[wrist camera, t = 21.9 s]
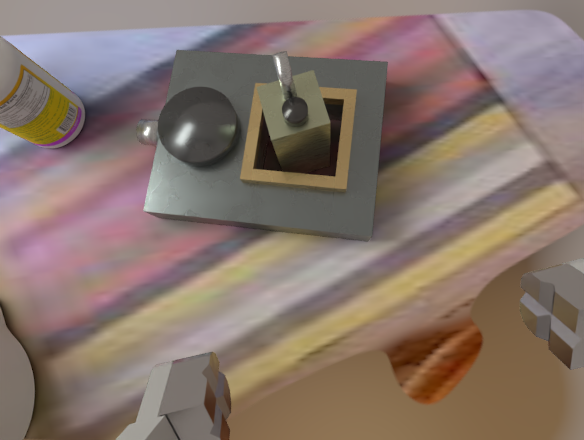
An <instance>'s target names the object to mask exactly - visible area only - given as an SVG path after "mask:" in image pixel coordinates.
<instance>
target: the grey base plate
mask: <svg viewBox="0 0 584 440" xmlns="http://www.w3.org/2000/svg"><path fill="white" fill-rule="evenodd" d="M288 59H289V63H290V67H291V72H292V76H295V75H298V74H302V73H305V72H308V71H312V70H314V73H315V76H316V79H317V82H318V85H319V88H320V91H321V95H322V98H323V101H324V104H325V107H326V110H327V113H328V116H329V120H342V123H341V132H340V141H339V150H338V159H337V167H336V176H335V177H334V176H324V175H313V174H303V173H292V172H281V171H271V170H263V169H264V162H265V155H266V149H267V142H268V135H269V131H268V127H267V124H266V120H265V116H264V113H263V109H262V106H261V102H260V98H259V95H258V91H257V87H258V86H261V85H265V84H268V83H271V82H275V81H278V80H279V78H278V75H277V71H276V67H275V63H274V60H273V56H272V55H256V54H238V53H220V52H202V51H184V50H177V51H176V56H175V61H174V66H173V71H172V75H171V80H170V85H169V90H168V95H167V99H166V104H165V106H164V108H163V109H162V111H161V114H160V117H159V120H147V119H141V120H140V121H139V122H138V125H137V138H138V140H139V142H140V143H141V144H144V145H155V146H157V147H156V152H155V157H154V162H153V167H152V172H151V176H150V181H149V186H148V191H147V196H146V200H145V205H144V210H143V211H144V212H147V213H149V214H151V215H153V216H156V217H158V218H165V219H173V220H182V221H191V222H200V223H209V224H217V225H226V226H235V227H244V228H253V229H261V230H270V231H279V232H288V233H297V234H306V235H314V236H323V237H332V238H341V239H350V240H358V241H367V242H368V241H369V240H370V239H371V237H372V231H373V220H374V209H375V198H376V187H377V176H378V165H379V154H380V143H381V132H382V120H383V109H384V98H385V87H386V76H387V65H388V62H380V61H362V60H344V59H327V58H309V57H291V56H288Z"/></svg>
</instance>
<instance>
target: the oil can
mask: <svg viewBox="0 0 584 440" xmlns="http://www.w3.org/2000/svg"><path fill="white" fill-rule="evenodd" d="M272 56H273V60H274V63H275V67H276V71H277V75H278V78H279V80H278V81H275V82H271V83H268V84H265V85H261V86H258V87H257V91H258V95H259V98H260V102H261V106H262V109H263V113H264V116H265V120H266V124H267V127H268V131H269V134H270V138H271V141H272V144H273V147H274V150H275V152H276V155H277V158H278V160H279V163H280V166H281V169H282V171H283V172H292V173H307V172H310V171H314V170H317V169H320V168H324V167H327V166H330V120H329V116H328V113H327V110H326V107H325V104H324V101H323V98H322V95H321V91H320V88H319V85H318V82H317V79H316V76H315V73H314V70H312V71H308V72H305V73H302V74H298V75H295V76H292V72H291V67H290V63H289V59H288V55H287V51H283V52H279V53H276V54H274V55H272Z"/></svg>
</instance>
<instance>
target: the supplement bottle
mask: <svg viewBox="0 0 584 440" xmlns="http://www.w3.org/2000/svg"><path fill="white" fill-rule="evenodd" d="M84 121H85V109H84V106H83V103H82V101H81V100H80V98H79V97H78V96H77V95H76V94H75V93H73V92H72V91H71V90H70V89H68V88H67V87H66V86H65V85H63V84H62V83H61V82H59V81H58V80H57V79H55V78H54V77H53V76H52V75H50V74H49V73H48V72H46V71H45V70H44V69H43V68H41V67H40V66H39V65H37V64H36V63H35V62H34V61H32V60H31V59H30V58H28V57H27V56H26V55H24V54H23V53H22V52H21V51H19V50H18V49H17V48H16V47H14V46H13V45H12V44H11V43H9V42H8V41H7V40H5V39H4V38H2V37H1V36H0V127H1V128H3V129H5V130H7V131H9V132H11V133H13V134H15V135H17V136H19V137H21V138H23V139H25V140H27V141H29V142H31V143H33V144H35V145H37V146H40V147H44V148H58V147H62V146H64V145H66V144H68V143H69V142H71V141H72V140H73V139H75V138H76V136H77V135H78V134H79V133H80V131H81V129H82V127H83V125H84Z"/></svg>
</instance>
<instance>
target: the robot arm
mask: <svg viewBox="0 0 584 440" xmlns="http://www.w3.org/2000/svg"><path fill="white" fill-rule="evenodd" d="M521 288H522V289H523V290H524V291H525V292H526V293H525V294H524V296H523V297H522V298H521V300H520V314H521V316H522V319H523V322H524V323H525V325H526V326H527V328H528V329H529V330H530V331H531V332H532V333H533V334H534V335H535V336H536V337H539V338H541V339H544V340H546V341H548V344H549V350H550V351H551V352H552V353H553V354H554V355H555V356H556V357H557V358H558V359H560V360H561V361H562V362H563V363H564V364H565V365H566V366H567V367H568V368H569V369H570V370H572V369H576V368H581V367H584V258H581V259H577V260H573V261H570V262H566V263H563V264H560V265H556V266H552V267H548V268H544V269H540V270H536V271H533V272H529V273H525V274H524V275H523V277H522V278H521ZM219 363H220V362H219V360H218V358H217V356H216V354H215V353H214V352H209V353H205V354H200V355H196V356H192V357H187V358H183V359H178V360H175V361H171V362H167V363H162V364H158V365H156V366H155V367H154V368H153V369H152V371H151V374H150V377H149V381H148V384H147V387H146V390H145V393H144V397H143V400H142V403H141V406H140V409H139V413H138V416H137V419H136V422H135V423H132V424H129V425H128V426H127V427H126V429H125V430H124V431H123V432H122V433H121V434H120V435H119V436H118V437H117V439H116V440H229V436H230V429H229V427H228V424H227V422H226V419H227V418H228V416H229V415H230V413H231V398H230V390H229V386H228V382H227V379H226V377H225V375H224V374H222V373H221V372H219ZM34 399H35V385H34V377H33V371H32V368H31V364H30V361H29V359H28V357H27V354H26V352H25V351H24V349H23V347H22V346H21V344H20V343H19V342H18V341H17V339H16V338H15V337H14V336H13V335H12V334H11V332H10V331H9V330H8V328H7V326H6V324H5V320H4V317H3V313H2V310H1V307H0V440H23V439H24V437H25V435H26V432H27V430H28V427H29V424H30V421H31V417H32V413H33V408H34Z"/></svg>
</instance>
